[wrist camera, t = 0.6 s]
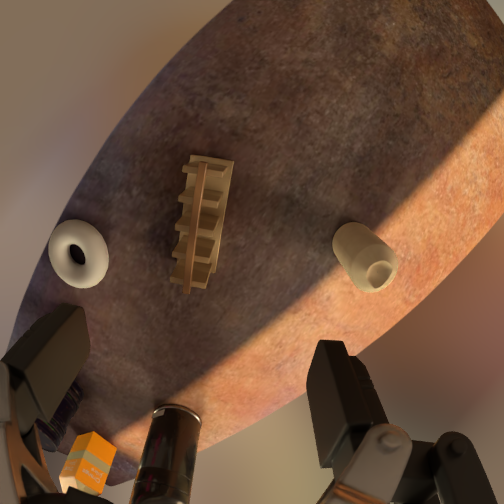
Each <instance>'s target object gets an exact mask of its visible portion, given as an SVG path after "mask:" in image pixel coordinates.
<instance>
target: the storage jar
mask: <svg viewBox="0 0 504 504" xmlns="http://www.w3.org/2000/svg"><path fill="white" fill-rule="evenodd" d="M83 397H84V393H83V390H82V388H81V386H80V385H79V384H78V382H77V381H76V380H75V379H74V381H73V383H72V384H71V386H70V387H69V389H68V391H67V392H66V394H65V396H64V397H63V399H62V401H61V403H60V404H59V406H58V408H57V409H56V411H55V413H54V415H53V416H52V418H51V420H50V422H49V423H48V422H45V421H43V420H41V419H38V418H37V419H36V420H35V424H36V425H37V428H38V432H39V437H40V441H41V446H42V449H44V450H46V451H49V452H56V451H57V449H58V446H59V444H60V442H61V441H62V439H63V437H64V435H65V433H66V430H67V426H68V424H69V422H70V420H71V418H72V417H73V416H74V415H75V413H76V411H77V410H78V408H79V406H80V403H81V401H82V399H83Z"/></svg>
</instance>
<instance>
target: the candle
mask: <svg viewBox="0 0 504 504" xmlns="http://www.w3.org/2000/svg"><path fill="white" fill-rule="evenodd" d="M332 247H333V251H334V253H335V255H336V257H337V258H338V260H339V261H340V263H341V264H342V266H343V268H344V269H345V271H346V272H347V274H348V275H349V277H350V278H351V280H352V282H353V283H354V285H355V286H356V287H357V288H358V289H360V290H361V291H364V292H377V291H380V290H382V289H384V288H385V287H387V286H388V285H389V284H390V283H391V282H392V280H393V279H394V277H395V275H396V273H397V270H398V259H397V256H396V254H395V252H394V251H393V250H392V249H391V248H390V247H389V246H388V245H387V244H386V243H385V242H383V241H382V240H381V239H380V238H379V237H378V236H377V235H375V234H374V233H373V232H372V231H371V230H370V229H368V228H367V227H366V226H365V225H363V224H361V223H357V222H350V223H347V224H344V225H343V226H341V227H340V228H339V229H338V230H337V231H336V233H335V235H334V237H333V241H332Z"/></svg>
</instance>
